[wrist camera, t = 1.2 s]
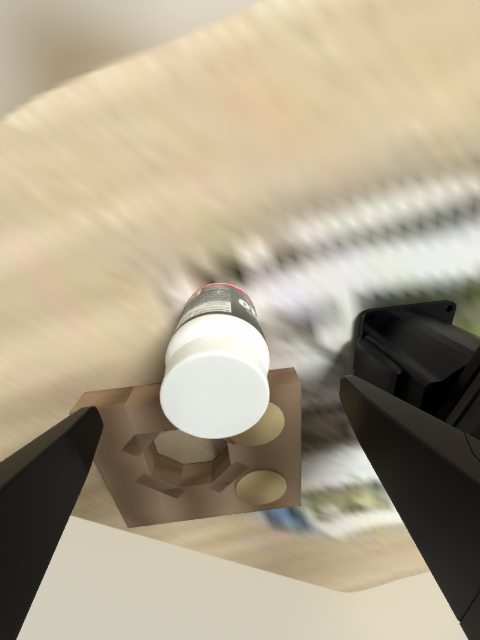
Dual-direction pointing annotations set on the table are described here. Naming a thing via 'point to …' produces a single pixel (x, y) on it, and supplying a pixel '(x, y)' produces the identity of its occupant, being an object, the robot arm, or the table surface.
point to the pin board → (198, 478)
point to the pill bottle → (216, 365)
